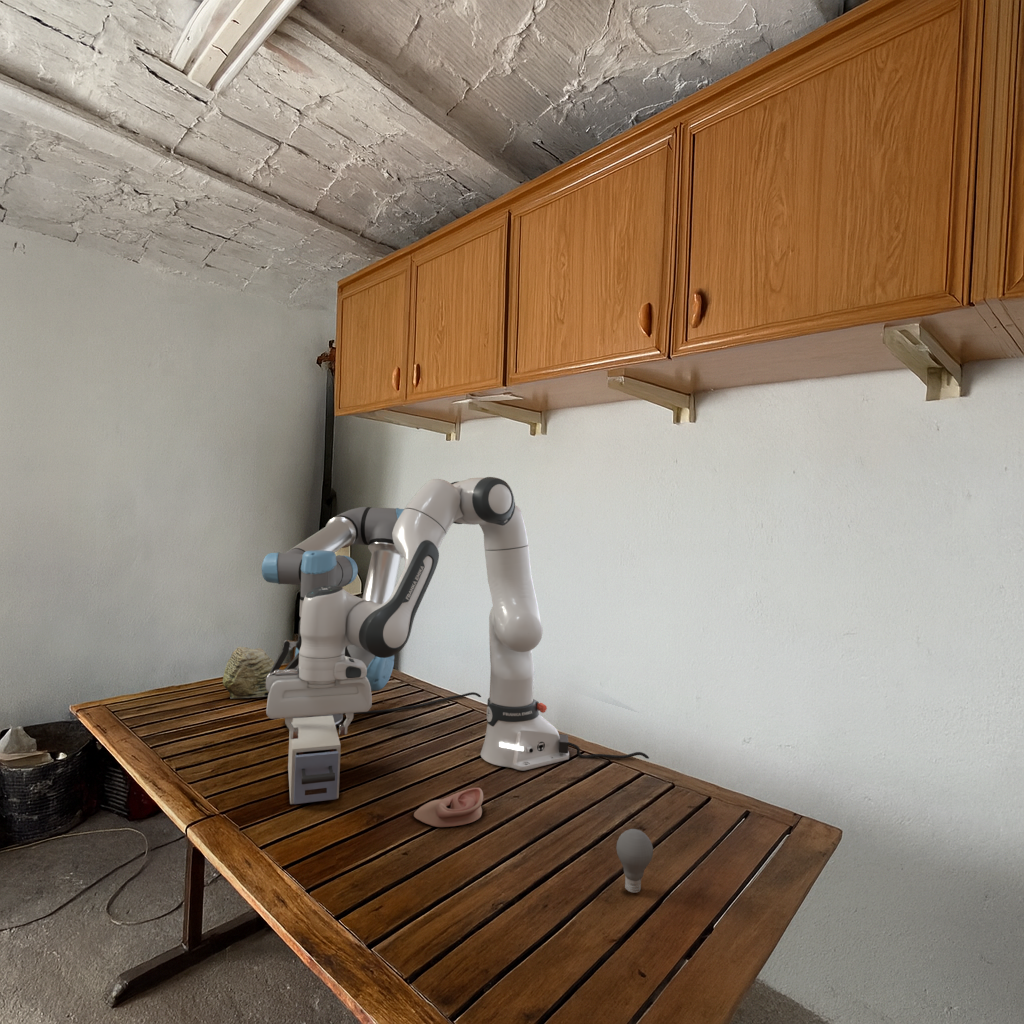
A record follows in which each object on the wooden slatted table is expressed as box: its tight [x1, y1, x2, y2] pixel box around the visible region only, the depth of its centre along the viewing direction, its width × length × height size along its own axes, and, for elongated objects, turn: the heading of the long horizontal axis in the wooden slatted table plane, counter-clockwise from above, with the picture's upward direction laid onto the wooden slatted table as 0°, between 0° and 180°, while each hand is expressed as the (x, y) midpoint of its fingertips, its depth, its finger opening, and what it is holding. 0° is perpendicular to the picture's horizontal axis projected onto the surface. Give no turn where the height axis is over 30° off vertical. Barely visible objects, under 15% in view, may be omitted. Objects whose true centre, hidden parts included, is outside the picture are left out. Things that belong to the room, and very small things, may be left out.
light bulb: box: [615, 828, 654, 894], centre depth 106 cm, size 6×6×10 cm
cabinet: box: [287, 715, 342, 805], centre depth 140 cm, size 18×10×11 cm, turn 21°
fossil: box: [222, 646, 275, 699], centre depth 198 cm, size 9×18×15 cm, turn 132°
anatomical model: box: [413, 787, 484, 828], centre depth 129 cm, size 13×4×12 cm
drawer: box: [293, 749, 338, 805], centre depth 135 cm, size 23×8×10 cm, turn 21°
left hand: (312, 711), depth 145 cm, fingers open, 13 cm apart
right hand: (318, 735), depth 127 cm, fingers open, 8 cm apart
